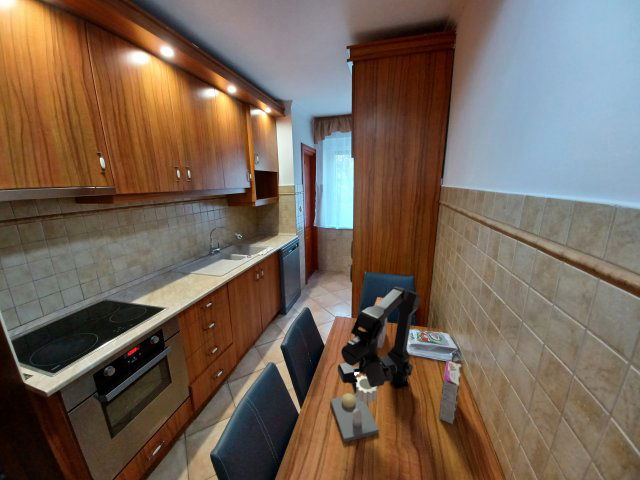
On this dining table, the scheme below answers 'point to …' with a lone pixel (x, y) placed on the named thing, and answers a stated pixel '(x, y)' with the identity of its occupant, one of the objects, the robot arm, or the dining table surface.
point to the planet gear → (365, 390)
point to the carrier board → (348, 418)
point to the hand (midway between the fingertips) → (365, 390)
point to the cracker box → (383, 334)
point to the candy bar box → (450, 392)
